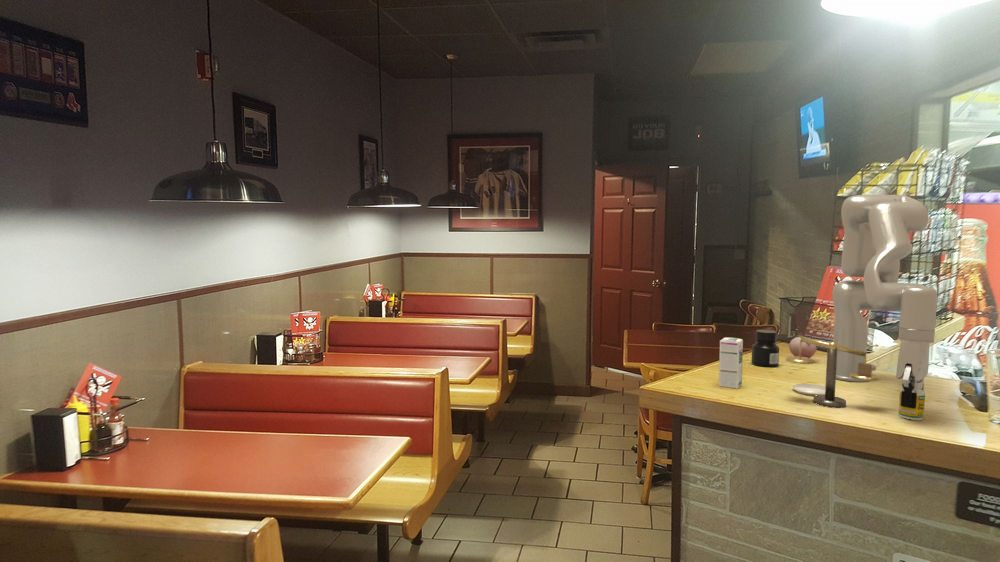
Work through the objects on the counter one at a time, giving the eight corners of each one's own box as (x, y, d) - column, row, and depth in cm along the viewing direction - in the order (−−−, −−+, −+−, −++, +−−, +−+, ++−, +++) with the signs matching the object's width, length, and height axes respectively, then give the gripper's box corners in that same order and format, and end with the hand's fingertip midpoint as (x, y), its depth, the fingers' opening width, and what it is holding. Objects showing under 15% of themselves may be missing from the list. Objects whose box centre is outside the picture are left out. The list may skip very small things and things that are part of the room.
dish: (813, 385, 189) (813, 382, 189) (842, 395, 178) (843, 392, 178) (783, 388, 185) (784, 385, 185) (812, 398, 175) (812, 394, 175)
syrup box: (738, 389, 185) (740, 341, 183) (717, 386, 188) (719, 339, 186) (742, 385, 189) (743, 338, 188) (722, 382, 192) (723, 336, 191)
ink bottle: (778, 368, 211) (779, 334, 210) (750, 366, 215) (751, 332, 214) (778, 363, 220) (780, 330, 219) (752, 360, 224) (753, 328, 223)
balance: (784, 394, 179) (787, 333, 177) (876, 405, 168) (880, 340, 167) (783, 401, 172) (786, 337, 170) (878, 413, 161) (883, 345, 159)
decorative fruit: (783, 358, 228) (784, 332, 227) (804, 358, 229) (805, 331, 228) (798, 364, 219) (799, 336, 218) (819, 363, 220) (821, 336, 219)
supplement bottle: (901, 413, 161) (903, 377, 161) (925, 417, 158) (928, 381, 157) (895, 417, 158) (898, 380, 157) (920, 422, 154) (923, 384, 153)
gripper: (908, 329, 164) (904, 395, 166) (888, 337, 153) (884, 408, 154) (942, 333, 159) (937, 401, 160) (924, 341, 147) (919, 415, 149)
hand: (911, 404), depth 157 cm, fingers closed on supplement bottle, 5 cm apart
